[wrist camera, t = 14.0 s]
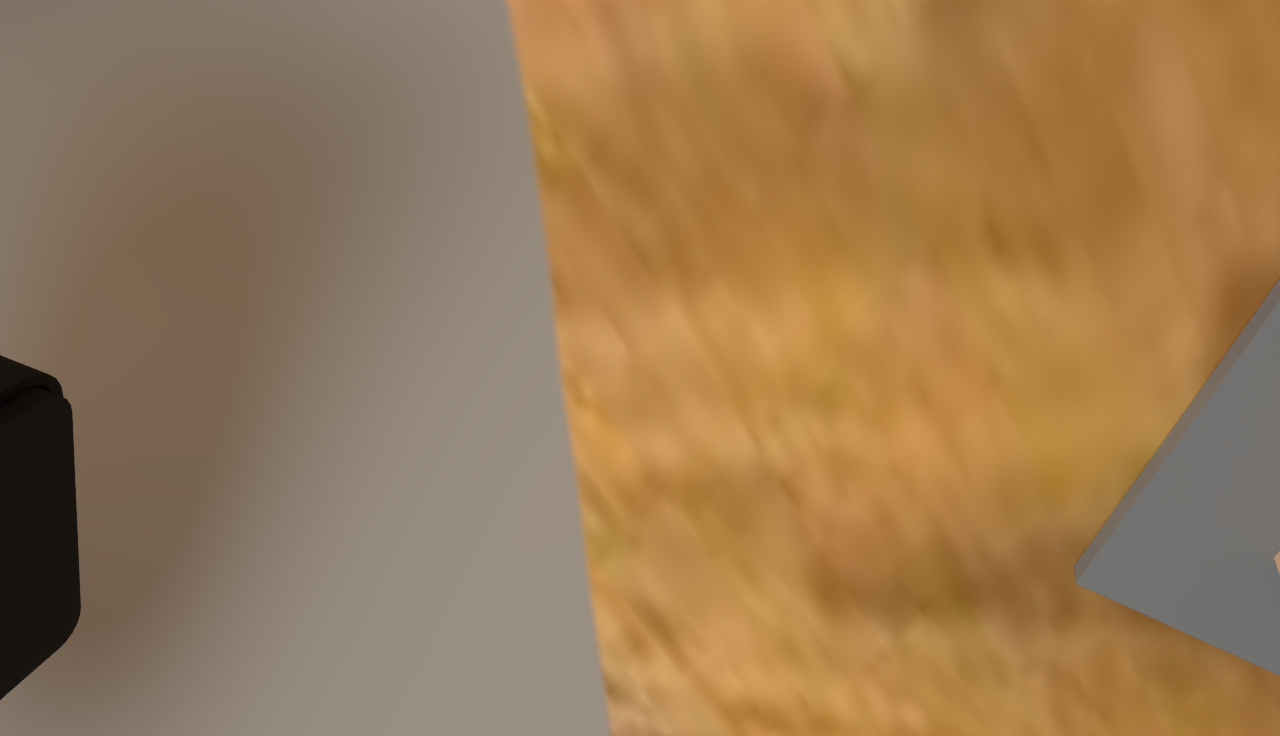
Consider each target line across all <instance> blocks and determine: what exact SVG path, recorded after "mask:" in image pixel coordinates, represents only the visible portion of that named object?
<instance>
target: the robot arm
mask: <svg viewBox="0 0 1280 736" xmlns="http://www.w3.org/2000/svg"><path fill="white" fill-rule="evenodd" d="M77 535H78V534H77V511H76V487H75V465H74V443H73V419H72V409H71V405H70V403H69V402H68V400H67V399H65V398H63V393H62V388H61V385H60V383H59V382H58V381H57V379H56V378H55V377H52V376H51V375H49V374H46V373H44V372H41V371H39V370H36V369H34V368H31V367H29V366H26V365H24V364H21V363H18V362H16V361H13V360H11V359H8V358H6V357H3V356H1V355H0V700H1V699H2V698H3V697H4V696H5V695H6V694H7V693H9V692H10V691H11V690H12V689H13V688H14V687H15V686H17V685H18V684H19V683H20V682H21V681H22V680H24V679H25V678H26V677H27V676H28V675H29V674H30V673H31V672H33V671H34V670H35V669H36V668H37V667H38V666H40V665H41V664H42V663H43V662H44V661H45V660H46V659H47V658H49V657H50V656H51V655H52V654H53V653H54V652H56V651H57V650H58V649H59V648H60V647H61V646H62V645H63V644H64V643H65V642H66V641H67V639H68V638H69V636H70V635H71V634H72V632H73V630H74V628H75V627H76V625H77V622H78V619H79V616H80V609H81V603H80V602H81V601H80V578H79V555H78V536H77Z"/></svg>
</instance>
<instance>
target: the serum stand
mask: <svg viewBox="0 0 1280 736" xmlns="http://www.w3.org/2000/svg"><path fill="white" fill-rule="evenodd" d="M1074 567H1075V581H1076V584H1078V585H1080V586H1083V587H1085V588H1087V589H1089V590H1091V591H1094V592H1096V593H1098V594H1100V595H1102V596H1105V597H1107V598H1109V599H1111V600H1114V601H1116V602H1118V603H1120V604H1122V605H1125V606H1127V607H1129V608H1131V609H1134V610H1136V611H1138V612H1140V613H1142V614H1145V615H1147V616H1149V617H1151V618H1153V619H1156V620H1158V621H1160V622H1162V623H1165V624H1167V625H1169V626H1171V627H1173V628H1176V629H1178V630H1180V631H1182V632H1184V633H1187V634H1189V635H1191V636H1193V637H1196V638H1198V639H1200V640H1202V641H1204V642H1207V643H1209V644H1211V645H1213V646H1215V647H1218V648H1220V649H1222V650H1224V651H1227V652H1229V653H1231V654H1233V655H1235V656H1238V657H1240V658H1242V659H1244V660H1247V661H1249V662H1251V663H1253V664H1255V665H1258V666H1260V667H1262V668H1264V669H1266V670H1269V671H1271V672H1273V673H1275V674H1278V675H1280V279H1279V280H1278V282H1277V283H1276V285H1275V286H1274V287H1273V289H1272V290H1271V292H1270V293H1269V294H1268V296H1267V297H1266V299H1265V300H1264V301H1263V303H1262V304H1261V306H1260V307H1259V308H1258V310H1257V311H1256V313H1255V314H1254V315H1253V317H1252V318H1251V320H1250V321H1249V322H1248V324H1247V325H1246V327H1245V328H1244V329H1243V331H1242V332H1241V334H1240V335H1239V336H1238V338H1237V339H1236V341H1235V342H1234V343H1233V345H1232V346H1231V348H1230V349H1229V350H1228V352H1227V353H1226V355H1225V356H1224V358H1223V359H1222V360H1221V362H1220V363H1219V365H1218V366H1217V367H1216V369H1215V370H1214V372H1213V373H1212V374H1211V376H1210V377H1209V379H1208V380H1207V381H1206V383H1205V384H1204V386H1203V387H1202V388H1201V390H1200V391H1199V393H1198V394H1197V395H1196V397H1195V398H1194V400H1193V401H1192V402H1191V404H1190V405H1189V407H1188V408H1187V409H1186V411H1185V412H1184V414H1183V415H1182V416H1181V418H1180V419H1179V421H1178V422H1177V423H1176V425H1175V426H1174V428H1173V429H1172V430H1171V432H1170V433H1169V435H1168V436H1167V437H1166V439H1165V440H1164V442H1163V443H1162V444H1161V446H1160V447H1159V449H1158V450H1157V451H1156V453H1155V454H1154V456H1153V457H1152V458H1151V460H1150V461H1149V463H1148V464H1147V465H1146V467H1145V468H1144V470H1143V471H1142V472H1141V474H1140V475H1139V477H1138V478H1137V479H1136V481H1135V482H1134V484H1133V485H1132V486H1131V488H1130V489H1129V491H1128V492H1127V493H1126V495H1125V496H1124V498H1123V499H1122V500H1121V502H1120V503H1119V505H1118V506H1117V507H1116V509H1115V510H1114V512H1113V513H1112V514H1111V516H1110V517H1109V519H1108V520H1107V521H1106V523H1105V524H1104V526H1103V527H1102V528H1101V530H1100V531H1099V533H1098V534H1097V535H1096V537H1095V538H1094V540H1093V541H1092V542H1091V544H1090V545H1089V547H1088V548H1087V549H1086V551H1085V552H1084V554H1083V555H1082V556H1081V558H1080V559H1079V561H1078V562H1077V563H1076V565H1075V566H1074Z"/></svg>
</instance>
